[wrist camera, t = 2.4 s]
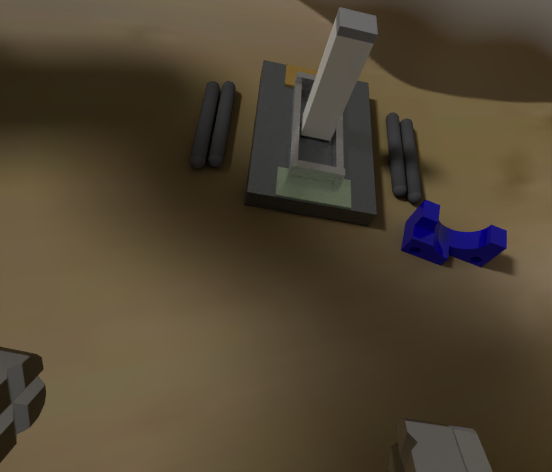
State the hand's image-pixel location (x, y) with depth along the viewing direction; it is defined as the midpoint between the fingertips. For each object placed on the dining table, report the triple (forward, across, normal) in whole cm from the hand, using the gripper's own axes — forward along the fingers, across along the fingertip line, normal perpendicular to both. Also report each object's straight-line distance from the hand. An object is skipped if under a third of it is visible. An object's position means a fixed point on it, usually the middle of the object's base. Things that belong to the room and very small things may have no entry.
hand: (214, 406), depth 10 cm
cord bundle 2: (+40, -10, +1) cm, 41 cm away
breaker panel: (+38, 0, 0) cm, 38 cm away
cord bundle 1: (+36, +9, -1) cm, 38 cm away
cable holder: (+33, -14, +8) cm, 37 cm away
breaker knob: (+37, -1, -1) cm, 37 cm away
